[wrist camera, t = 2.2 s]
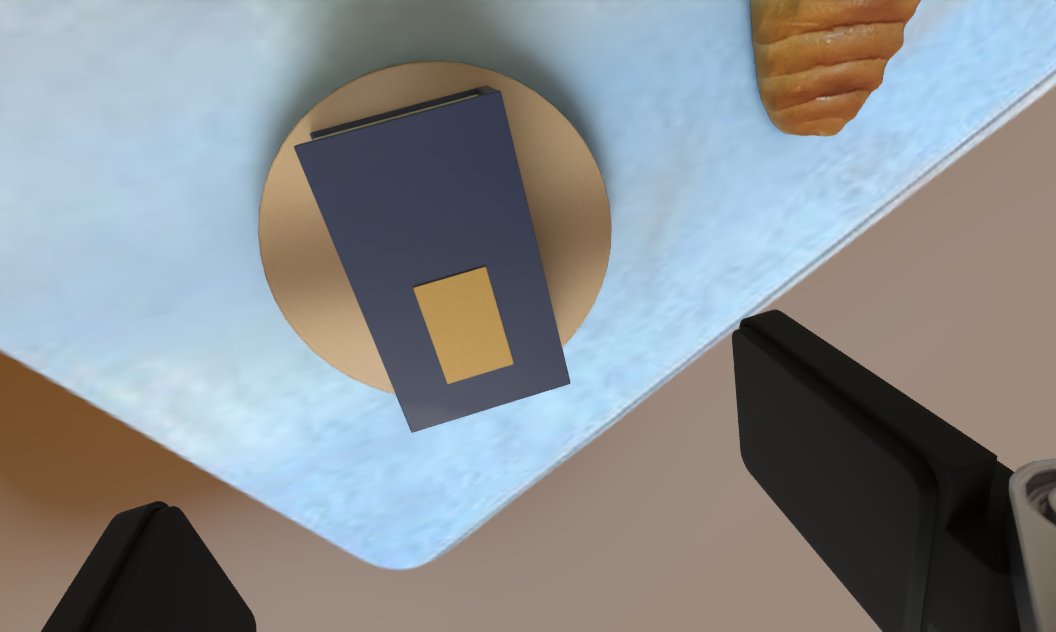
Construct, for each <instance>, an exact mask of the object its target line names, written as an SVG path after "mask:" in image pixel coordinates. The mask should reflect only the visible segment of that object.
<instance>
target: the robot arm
mask: <svg viewBox="0 0 1056 632" xmlns="http://www.w3.org/2000/svg"><path fill="white" fill-rule="evenodd" d="M732 345H733V358H734V371H735V384H736V398H737V410H738V423H739V437H740V448H741V449H740V450H741V456H742V459H743V462H744V464H745V466H746V468H747V469H748V471H749V472H750V474H751V475H752V476H753V477H754V478H755V480H756V481H757V482H758V483H759V484H760V485H761V487H762V488H763V489H764V490H765V492H766V493H767V494H768V495H769V496H770V498H771V499H772V500H773V501H774V502H775V504H776V505H777V506H778V507H779V508H780V510H781V511H782V512H783V513H784V514H785V516H786V517H787V518H788V519H789V520H790V521H791V523H792V524H793V525H794V526H795V527H796V529H797V530H798V531H799V532H800V533H801V535H802V536H803V537H804V538H805V539H806V541H807V542H808V543H809V544H810V545H811V546H812V548H813V549H814V550H815V551H816V553H817V554H818V555H819V556H820V557H821V559H822V560H823V561H824V562H825V563H826V564H827V566H828V567H829V568H830V569H831V570H832V572H833V573H834V574H835V575H836V576H837V578H838V579H839V580H840V581H841V582H842V584H843V585H844V586H845V587H846V588H847V590H848V591H849V592H850V593H851V594H852V595H853V597H854V598H855V599H856V600H857V602H858V603H859V604H860V605H861V606H862V608H863V609H864V610H865V611H866V612H867V613H868V615H869V616H870V617H871V618H872V619H873V621H874V622H875V623H876V624H877V625H878V627H879V628H880V629H881V630H882V631H883V632H1056V459H1046V460H1039V461H1033V462H1030V463H1028V464H1026V465H1024V466H1022V467H1019V468H1018V469H1017V470H1016V471H1015V472H1013V471H1012V470H1010V469H1009V468H1007V467H1006V466H1005V465H1003V464H1002V463H1000V462H999V461H997V455H995V454H994V453H992V452H990V451H989V450H988V449H986V448H985V447H983V446H981V445H980V444H979V443H977V442H976V441H974V440H973V439H971V438H970V437H968V436H966V435H965V434H963V433H962V432H961V431H959V430H957V429H956V428H955V427H953V426H952V425H950V424H949V423H947V422H946V421H944V420H943V419H941V418H940V417H938V416H937V415H935V414H934V413H932V412H931V411H929V410H928V409H926V408H925V407H923V406H922V405H920V404H919V403H917V402H916V401H914V400H913V399H911V398H910V397H908V396H907V395H905V394H904V393H902V392H901V391H899V390H898V389H896V388H895V387H893V386H892V385H890V384H889V383H887V382H886V381H884V380H883V379H881V378H880V377H878V376H877V375H875V374H874V373H872V372H871V371H869V370H868V369H866V368H865V367H863V366H862V365H860V364H859V363H857V362H856V361H854V360H853V359H851V358H850V357H848V356H847V355H845V354H844V353H842V352H841V351H839V350H838V349H836V348H835V347H833V346H832V345H830V344H829V343H827V342H826V341H824V340H823V339H821V338H820V337H818V336H817V335H815V334H814V333H812V332H811V331H809V330H808V329H806V328H805V327H803V326H802V325H800V324H799V323H798V322H796V321H795V320H793V319H792V318H790V317H788V316H787V315H786V314H784V313H783V312H781V311H779V310H771V311H767V312H764V313H761V314H757V315H754V316H751V317H748V318H745V319H743V320H742V321H741V323H740V326H739V329H738V330H735V331H734V332H733V334H732ZM41 632H256V622H255V618H254V616H253V614H252V612H251V610H250V609H249V607H248V606H247V605H246V603H245V602H244V600H243V599H242V597H241V596H240V594H239V593H238V591H237V590H236V589H235V587H234V586H233V584H232V583H231V581H230V580H229V579H228V577H227V576H226V574H225V573H224V571H223V570H222V568H221V567H220V565H219V564H218V563H217V561H216V560H215V558H214V557H213V555H212V554H211V552H210V551H209V549H208V548H207V547H206V545H205V544H204V542H203V541H202V539H201V538H200V536H199V535H198V534H197V533H196V531H195V529H194V528H193V526H192V525H191V523H190V522H189V520H188V519H187V518H186V516H185V515H184V513H183V512H182V511H181V510H180V509H179V508H178V507H175V506H172V507H169V506H168V505H167V504H166V503H163V502H160V501H156V502H153V503H150V504H146V505H143V506H140V507H137V508H134V509H130V510H127V511H124V512H121V513H119V514H117V515H116V516H115V517H114V518H113V519H112V520H111V522H110V523H109V525H108V527H107V528H106V530H105V531H104V533H103V534H102V536H101V537H100V539H99V541H98V542H97V544H96V546H95V547H94V549H93V550H92V552H91V553H90V555H89V556H88V558H87V560H86V561H85V563H84V564H83V566H82V567H81V569H80V571H79V572H78V574H77V575H76V577H75V579H74V580H73V582H72V583H71V585H70V586H69V588H68V590H67V592H66V593H65V594H64V596H63V598H62V599H61V601H60V602H59V604H58V605H57V607H56V609H55V610H54V612H53V613H52V615H51V616H50V618H49V620H48V621H47V623H46V624H45V626H44V627H43V629H42V631H41Z"/></svg>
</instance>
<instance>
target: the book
mask: <svg viewBox="0 0 1056 632" xmlns="http://www.w3.org/2000/svg"><path fill="white" fill-rule="evenodd" d="M258 236H259V246H260V256H261V260H262V264H263V268H264V272H265V276H266V280H267V282H268V285H269V287H270V290H271V292H272V294H273V297H274V299H275V301H276V303H277V305H278V307H279V308H280V310H281V312H282V314H283V315H284V317H285V319H286V320H287V322H288V323H289V324H290V325H291V327H292V328H293V329H294V331H295V332H296V333H297V335H298V336H299V337H300V338H301V339H302V340H303V341H304V342H305V343H306V344H307V345H308V346H309V347H310V348H311V349H312V350H313V351H314V352H315V353H316V354H317V355H318V356H320V357H321V358H322V359H323V360H325V361H326V362H327V363H328V364H330V365H331V366H332V367H334V368H336V369H337V370H339V371H341V372H342V373H344V374H346V375H347V376H349V377H351V378H353V379H355V380H357V381H359V382H362V383H364V384H366V385H368V386H371V387H374V388H377V389H380V390H383V391H386V392H389V393H394V394H396V396H397V399H398V401H399V403H400V406H401V408H402V411H403V413H404V416H405V418H406V420H407V423H408V425H409V428H410V430H411V432H412V433H413V432H416V431H419V430H422V429H426V428H429V427H432V426H435V425H438V424H442V423H445V422H448V421H451V420H455V419H458V418H461V417H464V416H468V415H471V414H474V413H477V412H480V411H484V410H487V409H490V408H493V407H497V406H500V405H503V404H506V403H510V402H513V401H516V400H519V399H523V398H526V397H529V396H532V395H535V394H539V393H542V392H545V391H548V390H552V389H555V388H558V387H561V386H565V385H568V384H570V379H569V375H568V371H567V366H566V362H565V358H564V354H563V350H562V347H563V346H564V345H565V344H566V343H567V342H568V341H569V340H570V339H571V337H572V336H573V335H574V334H575V332H576V331H577V330H578V328H579V327H580V326H581V324H582V323H583V322H584V320H585V318H586V317H587V315H588V313H589V312H590V310H591V308H592V306H593V305H594V303H595V300H596V298H597V296H598V293H599V291H600V289H601V286H602V283H603V280H604V277H605V273H606V270H607V266H608V260H609V254H610V248H611V216H610V206H609V201H608V196H607V192H606V188H605V184H604V181H603V178H602V176H601V173H600V170H599V168H598V165H597V163H596V161H595V159H594V157H593V155H592V153H591V152H590V150H589V148H588V146H587V144H586V143H585V141H584V140H583V138H582V137H581V136H580V134H579V133H578V132H577V130H576V129H575V128H574V126H573V125H572V124H571V122H570V121H569V120H568V119H567V118H566V117H565V116H564V115H563V114H562V113H561V112H560V111H559V110H558V109H557V108H556V107H555V106H554V105H552V104H551V103H550V102H548V101H547V100H546V99H544V98H543V97H542V96H541V95H539V94H538V93H537V92H535V91H534V90H532V89H530V88H528V87H527V86H525V85H523V84H521V83H520V82H518V81H516V80H514V79H512V78H510V77H507V76H505V75H502V74H500V73H497V72H495V71H492V70H489V69H485V68H481V67H477V66H473V65H469V64H465V63H455V62H445V61H422V62H409V63H404V64H399V65H393V66H388V67H385V68H382V69H379V70H376V71H373V72H370V73H367V74H364V75H362V76H360V77H358V78H356V79H354V80H352V81H350V82H348V83H346V84H344V85H342V86H341V87H339V88H337V89H336V90H334V91H333V92H332V93H330V94H329V95H327V96H326V97H325V98H323V99H322V100H321V101H319V102H318V103H317V104H316V105H315V106H314V107H313V108H312V109H311V110H310V111H309V112H307V113H306V114H305V115H304V116H303V117H302V118H301V119H300V120H299V122H298V123H297V124H296V126H295V127H294V128H293V129H292V131H291V132H290V133H289V135H288V136H287V137H286V139H285V140H284V142H283V144H282V145H281V147H280V149H279V151H278V153H277V155H276V157H275V158H274V160H273V162H272V165H271V167H270V170H269V173H268V176H267V179H266V181H265V184H264V188H263V193H262V198H261V203H260V208H259V227H258Z"/></svg>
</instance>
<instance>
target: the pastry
mask: <svg viewBox="0 0 1056 632" xmlns="http://www.w3.org/2000/svg"><path fill="white" fill-rule="evenodd" d="M920 1H921V0H751V22H752V41H753V47H754V53H755V62H754V63H755V65H756V75H757V82H758V87H759V93H760V99H761V101H762V104H763V106H764V107H765V109H766V111H767V113H768V116H769V118H770V120H771V122H772V123H773V124H774V125H775V126H776V127H777V128H778V129H780V130H781V131H782V132H783V133H786V134H793V135H800V136H808V135H817V136H832V135H835V134H837V133H838V132H839V131H840V130H841V129H842V128H843V127H844V125H845V124H846V123H848V122H849V121H850V120H852V119H854V117H855V116H856V115H857V113H858V111H859V110H860V108H861V107H862V105H863V104H864V103H865V101H866V99H867V98H868V96H869V95H870V94H871V92H873V91H874V90H875V89H877V88H878V87H879V86H880V85H881V83H882V80H883V75H884V69H885V66H886V64H887V62H888V61H889V59H890V58H891V57H892V56H893V55H894V54H895V53H896V52H897V51H898V50H899V49H900V48H901V47H902V45H903V42H904V27H905V25H906V24H907V22H908V21H909V20H910V19H911V17H912V16H913V15H914V13H915V10H916V8H917V6H918V4H919V3H920Z"/></svg>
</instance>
